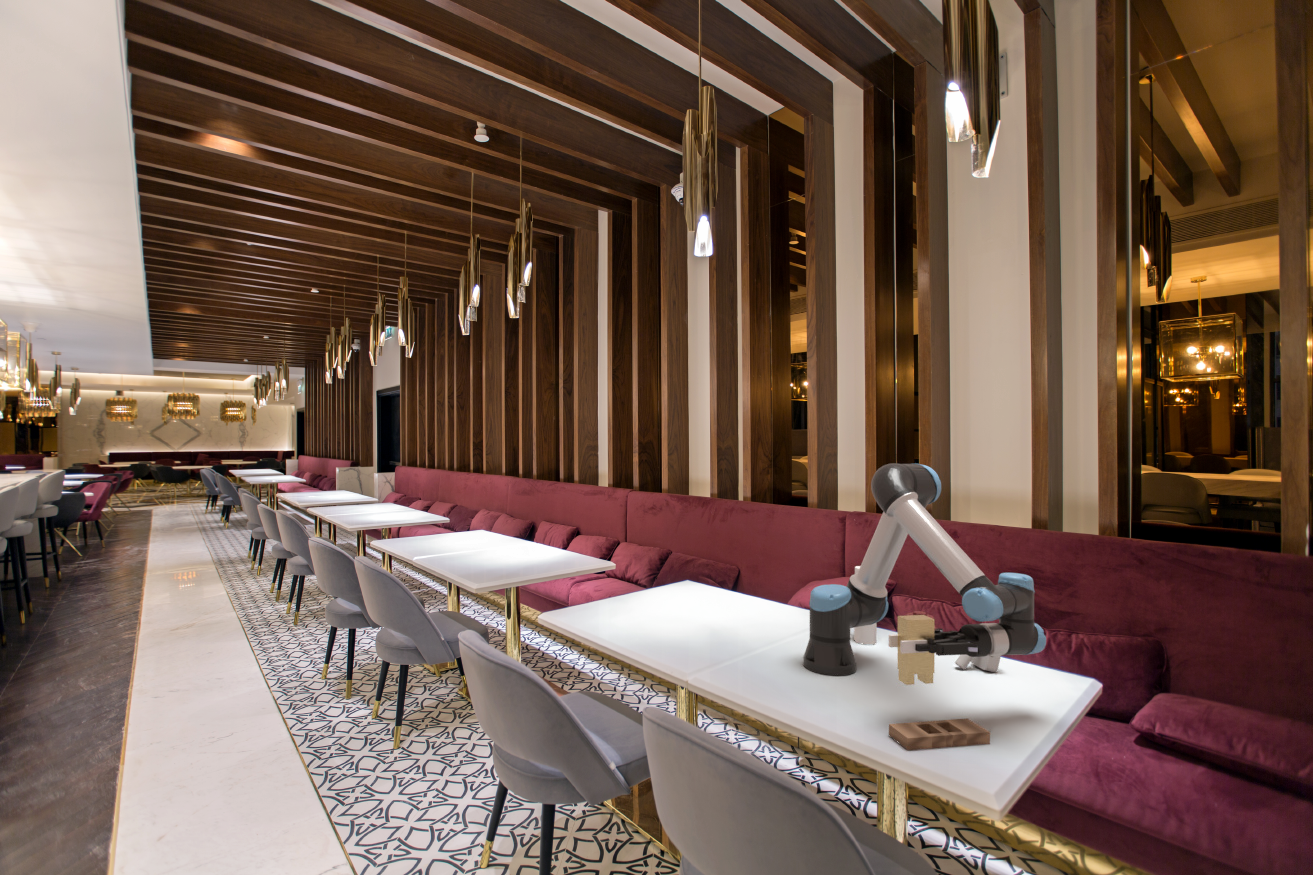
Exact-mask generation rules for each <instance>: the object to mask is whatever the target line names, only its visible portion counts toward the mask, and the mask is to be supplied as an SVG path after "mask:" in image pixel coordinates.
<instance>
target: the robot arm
mask: <svg viewBox="0 0 1313 875" xmlns="http://www.w3.org/2000/svg"><path fill="white" fill-rule="evenodd" d="M870 485H871V487H870V489H871V493H872V496H873V498H874V500H875V502H876V503H877V505H878V506H879V508H880V509H881V510H882V511H883V512H882V514H881V516H880V519H879V521H878V524H877V526H876V529H875V531H874V534H873V536H872V538H871V541H870V543H869V545H868V547H867V550H866V552H865V555H864V557H863V560H862V562H861V563H860V564H861V565H859V566H860V569H859V571H858V573H857V574H855V573H854V574H851V576H850V577H849V579H848V581H847V583H846V586H845V585H843V584H821V585H819V586H818V585H817V586H816V587H813V589H812V590H811V591H810V598H809V603H808V604H809V640H808V642H807V645H806V647H805V650H804V654H803V657H802V658H803V661H802V663H803V664H804V665H803V664H802V665H803V666H804V668H806V669H807V670H809V671H811V672H814V673H817V674H820V675H827V676H848V675H852V674H854V673H856V672H857V661H856V658H855V654H854V651H853V648H852V644H851V629H852V628H853V629H854V627H860V626H865V625H872V624H874V623H876V622H877V623H879V622H881V621H882V620H883V619H884V618H885V617H886V615H887V613H888V611H889V602H888V593H889V592H888V589H887V588H886V584H887V583H888V581H889V579H890V575H891V574H892V571H893V569H894V567H895V564H896V561H897V560H898V558H899V555H900V553H901V550H902V549H903V546H904V544H905V541H906V540H907V537H908V536H909V537H910V538H911V539H912V540H913V542H914V543H915V544H916V545H917V546H918V547H919V548H920V549H921V551H922V552H923V553H924V554H925V556H927V558H928V559H929V560H930V561H931V562H932V563H933V564H934V566H935V567H936V568H937V569H938V570H939V572H940V573H941V574H942V575H943V576H944V578H946V580H947V581H948V582H949V583H950V584H951V585H952V587H953V589H955V590H956V591H957V593H958V594H959V595H960V597H961V606H962V608H963V612H965V614H966V615H967V616H968V617H969V618H970V619H972V620H974V621H977V622H981V623H971V624H970V623H969V624H968V623H967V624H963V625H962V626H961V627H960V629H959V630H949V631H944V629H943V628H940V627H939V628H937V629H934V639H931V638H929V643H927V640H906V641H900V653H902V654H903V653H923V652H927V651H929V653H934V654H936V655H937V656H938V657H939V656H960V655H968V656H970V657H984V656H990V657H991V658H994V657H995V656H998V655H1001V656H1020V655H1022V656H1028V655H1034V654H1039V653H1041V652H1042V651H1043V650H1045V648H1046V645H1047V636H1046V635H1045V633H1044V632H1045V631H1044V629H1043V628H1042V627H1041V626H1040V625H1039V624H1038V623H1037V622H1035V593H1036V591H1035V587H1034V586H1035V582H1034V579H1033V577H1031V576H1030V575H1028V574H1025V573H1018V572H1001V573H1000V574H999V575H998V580H997V584H994V583H993V582H992V581H991V579H989V578H988V577H987V576H986V575H985V573H984V572H983V570H981V569H980V568H979V567H978V565H977V564H976V563H975V562H974V561H973V560H972V559H971V557H969V555H968V554H967V553H966V552H965V551H964V550H963V549H962V548H961V547H960V545H959V544H958V543H957V542H956V541H955V540H954V539H953V538H952V536H950V535H949V534H948V532H947V531H946V530H945V529H944V528H943V527H942V526H941V525H940V523H939V522H938V521H937V520H936V519H935V518H934V517H933V516H932V514H931V513H929V511H928V510H927V509H926V508H927V507H928V505H931V504H932V503H934V502H936V501H937V500H938V499H939V497H940V495H941V492H942V482H941V479H940V477H939V475H938V473H937V472H936V471H935V470H934V469H933V468H932V467H930V466H928V465H925V464H920V463H916V462H915V463H888V464H884V465H882V466H881V467H879V468H878V469H877V470H876V471H875V473H874V474H873V476H872V478H871V482H870ZM996 620H998V622H997V623H995V622H994V621H996ZM982 622H987V623H982ZM988 622H989V623H988ZM990 622H991V623H990ZM888 647H889V648H898V634H888ZM936 655H935V656H936Z"/></svg>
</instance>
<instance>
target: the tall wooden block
mask: <svg viewBox="0 0 1313 875" xmlns="http://www.w3.org/2000/svg"><path fill="white" fill-rule="evenodd" d="M934 625H935V618H934V619H933V618H930V617H928V616H925V615H908V616H906V615H897V635H898V647H897V669H898V671H897V672H898V681H900V682H901V683H902V684H904V685H906V686H909V685H910V686H911V685H915V675H917V676H916V678H917V680H918V681H920V682H922V683H923V684H926V685H927V684H930V685H931V684H934V674H935V653H929V651H927V652H923V653H903V654H902V653H900V641H906V640H927V643H929V638H931V639H934Z"/></svg>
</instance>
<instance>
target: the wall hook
mask: <svg viewBox="0 0 1313 875" xmlns="http://www.w3.org/2000/svg"><path fill="white" fill-rule="evenodd" d="M1001 657H1002V655H998V656H995V657H994V658H991V657H990V656H984V657H970V656H968V655H958V657H957V659H956V661H955V662H954V663H955V665H957V666H958V667H959V668H960V669H962V670H964V671H965V670H966V668H967V667H968V666H969V664H970V663H971V664H972V665H974V666H976V667H978V668H980V669H981V670H984V671H987V672H992V673H997V671H998V670H999V666H1000V661H1001Z"/></svg>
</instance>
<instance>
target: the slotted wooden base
mask: <svg viewBox="0 0 1313 875" xmlns="http://www.w3.org/2000/svg"><path fill="white" fill-rule="evenodd" d="M889 735H890V736H891V737H893V738H894V739H895V740H896V741H895V740H894V739H893V738H892V739H893V740H894V741H895V742H897V741H898V742H899V743H900V744H901V745H900V744H899V743H898V742H897V743H898V744H899V745H900V746H901V747H903V748H904V747H905V748H906V749H905V748H904V749H905V750H907V751H914V750H915V751H916V750H918V751H919V750H927V749H939V748H940V749H941V748H951V747H953V748H954V746H955V747H965V746H979V745H980V746H981V745H990V744H991V732H990V730H987V729H986V728H984V727H982V726H981V725H979V723H976V722H975V721H973V720H971V719H970V718H953V719H942V720H927V721H915V722H914V721H913V722H912V721H911V722H900V723H888V736H889ZM890 736H889V737H890ZM891 737H890V738H891Z"/></svg>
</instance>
